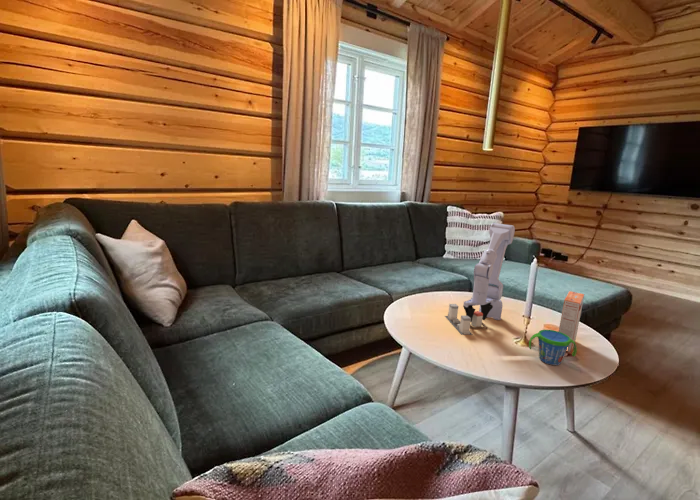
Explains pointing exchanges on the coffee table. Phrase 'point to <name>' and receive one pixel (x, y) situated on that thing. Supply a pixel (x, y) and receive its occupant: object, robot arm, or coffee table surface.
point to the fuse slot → (465, 323)
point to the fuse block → (458, 326)
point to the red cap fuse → (477, 319)
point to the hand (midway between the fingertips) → (475, 320)
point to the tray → (479, 327)
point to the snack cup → (552, 346)
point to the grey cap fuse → (453, 311)
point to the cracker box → (571, 316)
